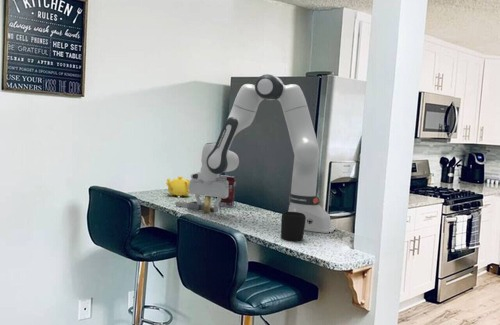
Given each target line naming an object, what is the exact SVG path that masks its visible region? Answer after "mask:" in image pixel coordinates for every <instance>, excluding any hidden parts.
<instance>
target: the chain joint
mask: <svg viewBox="0 0 500 325" xmlns="http://www.w3.org/2000/svg"><path fill="white" fill-rule="evenodd" d="M174 205H176V206H175V207H177V206H181V207H180V208H183V207H184V208H183V209H187V210H193V211H199V212H200V211H202V212H204V202H202V201H201V204H197V200H196V201H194V200H193V201H190V202H185V201H184V200H178V201H176V202H175V204H174ZM218 212H219V207H214V204H213V205H212V204H211V207H210V213H211V214H212V213H218Z"/></svg>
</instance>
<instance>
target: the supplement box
mask: <svg viewBox="0 0 500 325" xmlns="http://www.w3.org/2000/svg"><path fill="white" fill-rule="evenodd" d="M219 178H223V179H224V178H225V179H226V180H228V182H229V186H228V190H229V195H228V197H227V198H224V199H223V198H221V201H220V202H219V205H218V207H225V208H234V206H235V197H236V186H237V176H233V175H232V176H231V175H224V174H223V175H222V174H219ZM222 181H223V180H222Z"/></svg>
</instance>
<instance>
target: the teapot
mask: <svg viewBox="0 0 500 325" xmlns="http://www.w3.org/2000/svg"><path fill="white" fill-rule="evenodd" d="M165 183H166V185H167V187H168V188H167V191H168V193H169V194H170V195H174V196H176V197H177V196H181V197H182V196H183V195H184V196H188V195H189V194H190V193H189V183H190V180H189V179H185V178H183V176H177V178H173V179H172V180H171V178H167V179H166V182H165ZM184 196H183V197H184Z"/></svg>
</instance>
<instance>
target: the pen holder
mask: <svg viewBox="0 0 500 325" xmlns="http://www.w3.org/2000/svg"><path fill="white" fill-rule="evenodd" d="M305 220H306V217H305V215H304V214H303V213H299V212H288V211H284V212H282V213H281V224H280V226H281V227H280V229H281V230H280V237H281V239H282V240H284V241H288V242H302V241H303V240H304V236H305V234H304V233H305V230H304V228H305Z"/></svg>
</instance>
